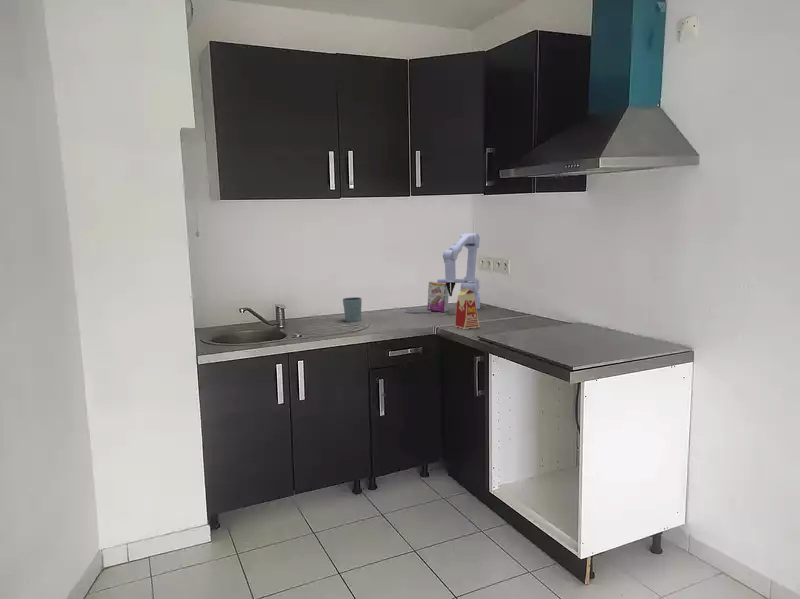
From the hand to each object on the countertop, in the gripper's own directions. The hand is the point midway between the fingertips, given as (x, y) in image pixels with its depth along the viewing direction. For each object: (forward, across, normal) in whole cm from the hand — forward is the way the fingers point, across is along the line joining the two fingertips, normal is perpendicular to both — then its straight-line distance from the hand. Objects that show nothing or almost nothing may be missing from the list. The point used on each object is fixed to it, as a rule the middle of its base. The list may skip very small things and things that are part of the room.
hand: (450, 296), depth 325 cm
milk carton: (+10, +8, -37) cm, 39 cm away
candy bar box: (+10, -8, +11) cm, 17 cm away
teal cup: (+10, -52, -17) cm, 56 cm away
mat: (+10, -19, +10) cm, 24 cm away
